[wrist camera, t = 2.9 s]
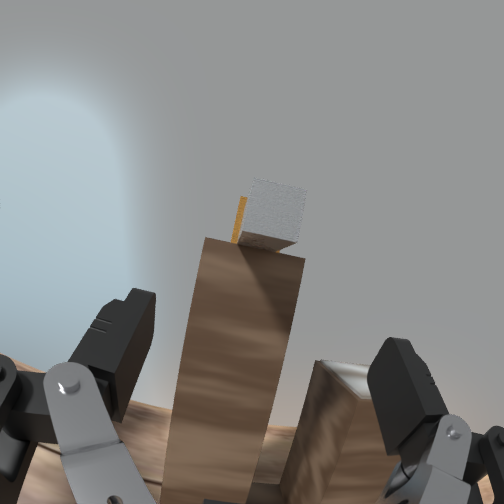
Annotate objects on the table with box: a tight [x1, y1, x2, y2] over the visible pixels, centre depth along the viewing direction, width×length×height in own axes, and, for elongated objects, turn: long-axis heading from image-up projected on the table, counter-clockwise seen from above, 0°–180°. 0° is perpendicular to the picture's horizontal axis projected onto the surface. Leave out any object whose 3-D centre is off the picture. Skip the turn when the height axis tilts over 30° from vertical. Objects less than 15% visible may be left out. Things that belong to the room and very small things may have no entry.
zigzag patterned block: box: [160, 237, 401, 504], centre depth 31 cm, size 14×23×32 cm, turn 95°
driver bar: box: [231, 178, 307, 253], centre depth 27 cm, size 19×4×4 cm, turn 5°
